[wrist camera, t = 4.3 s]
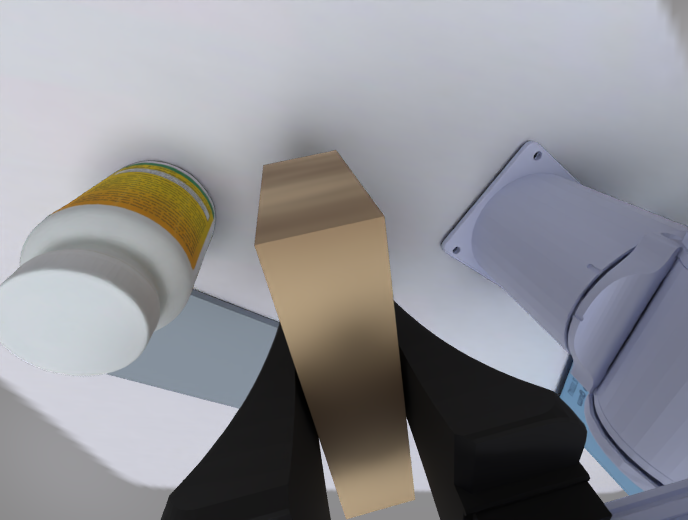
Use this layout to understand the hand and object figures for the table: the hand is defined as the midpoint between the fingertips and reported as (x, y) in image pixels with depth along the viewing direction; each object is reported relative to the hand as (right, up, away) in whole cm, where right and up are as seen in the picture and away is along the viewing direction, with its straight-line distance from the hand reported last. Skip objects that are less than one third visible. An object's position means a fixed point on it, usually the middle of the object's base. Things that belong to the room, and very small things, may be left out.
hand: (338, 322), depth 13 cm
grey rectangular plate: (-10, -3, +10) cm, 14 cm away
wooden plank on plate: (0, +1, +2) cm, 2 cm away
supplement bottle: (-9, +5, +6) cm, 12 cm away
